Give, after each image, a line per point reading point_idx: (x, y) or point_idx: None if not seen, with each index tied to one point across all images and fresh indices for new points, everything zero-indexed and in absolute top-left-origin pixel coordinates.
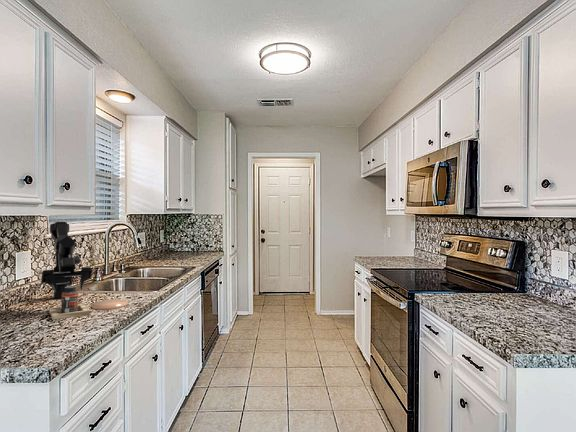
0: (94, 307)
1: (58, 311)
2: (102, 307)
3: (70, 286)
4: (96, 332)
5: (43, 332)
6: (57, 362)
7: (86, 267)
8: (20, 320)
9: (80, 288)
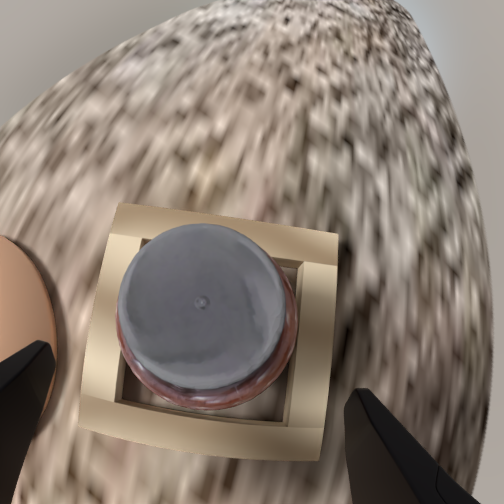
0: (49, 321)
1: (263, 421)
2: (25, 264)
3: (185, 332)
4: (225, 10)
5: (369, 94)
6: None
7: None
8: (452, 345)
9: (49, 385)
